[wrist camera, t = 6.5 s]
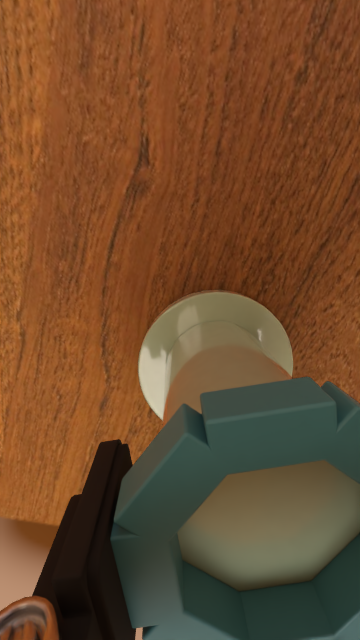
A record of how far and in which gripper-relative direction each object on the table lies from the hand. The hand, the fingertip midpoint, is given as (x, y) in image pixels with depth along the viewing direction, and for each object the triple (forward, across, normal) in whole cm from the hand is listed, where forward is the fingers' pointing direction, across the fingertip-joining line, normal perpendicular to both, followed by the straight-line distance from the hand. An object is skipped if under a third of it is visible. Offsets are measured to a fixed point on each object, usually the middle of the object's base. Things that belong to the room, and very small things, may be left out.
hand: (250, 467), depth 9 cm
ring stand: (+8, 0, 0) cm, 8 cm away
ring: (-2, 0, 0) cm, 2 cm away
